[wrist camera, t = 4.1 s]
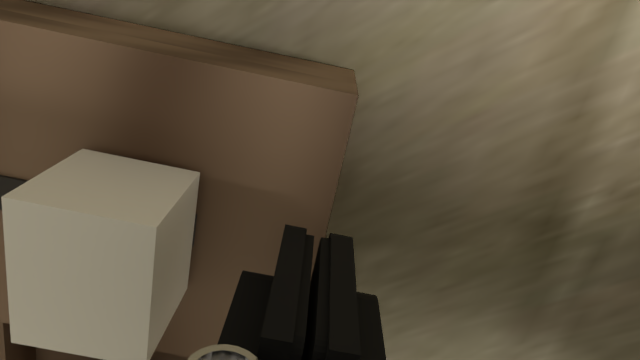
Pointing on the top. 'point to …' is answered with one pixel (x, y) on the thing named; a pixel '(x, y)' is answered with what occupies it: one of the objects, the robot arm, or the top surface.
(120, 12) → the top surface
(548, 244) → the top surface
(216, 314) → the control panel
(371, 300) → the robot arm
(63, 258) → the slider knob
